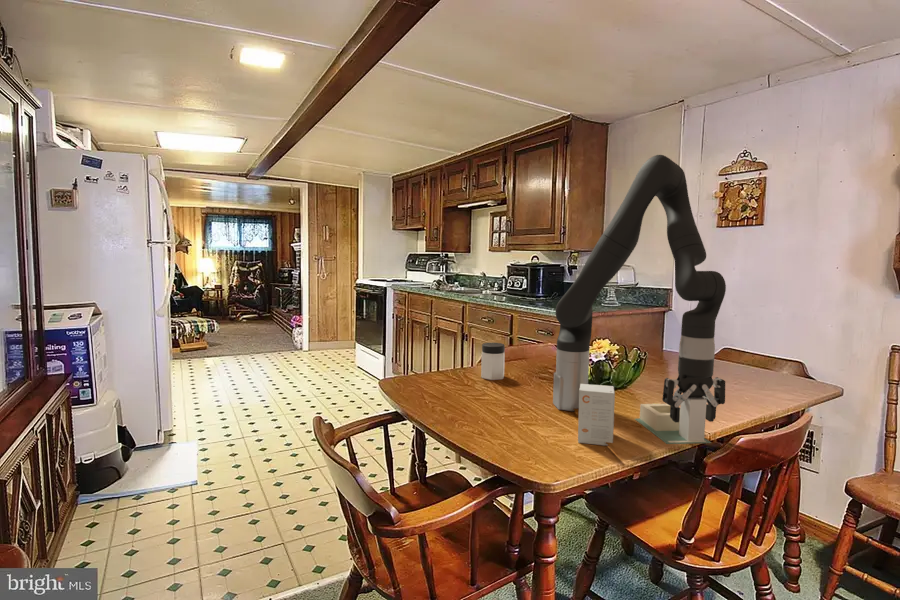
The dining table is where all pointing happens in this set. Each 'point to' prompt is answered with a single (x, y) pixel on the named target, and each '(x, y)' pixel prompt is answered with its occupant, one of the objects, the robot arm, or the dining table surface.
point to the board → (670, 436)
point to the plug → (692, 418)
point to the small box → (596, 414)
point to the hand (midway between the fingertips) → (692, 421)
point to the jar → (492, 361)
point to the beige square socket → (658, 417)
